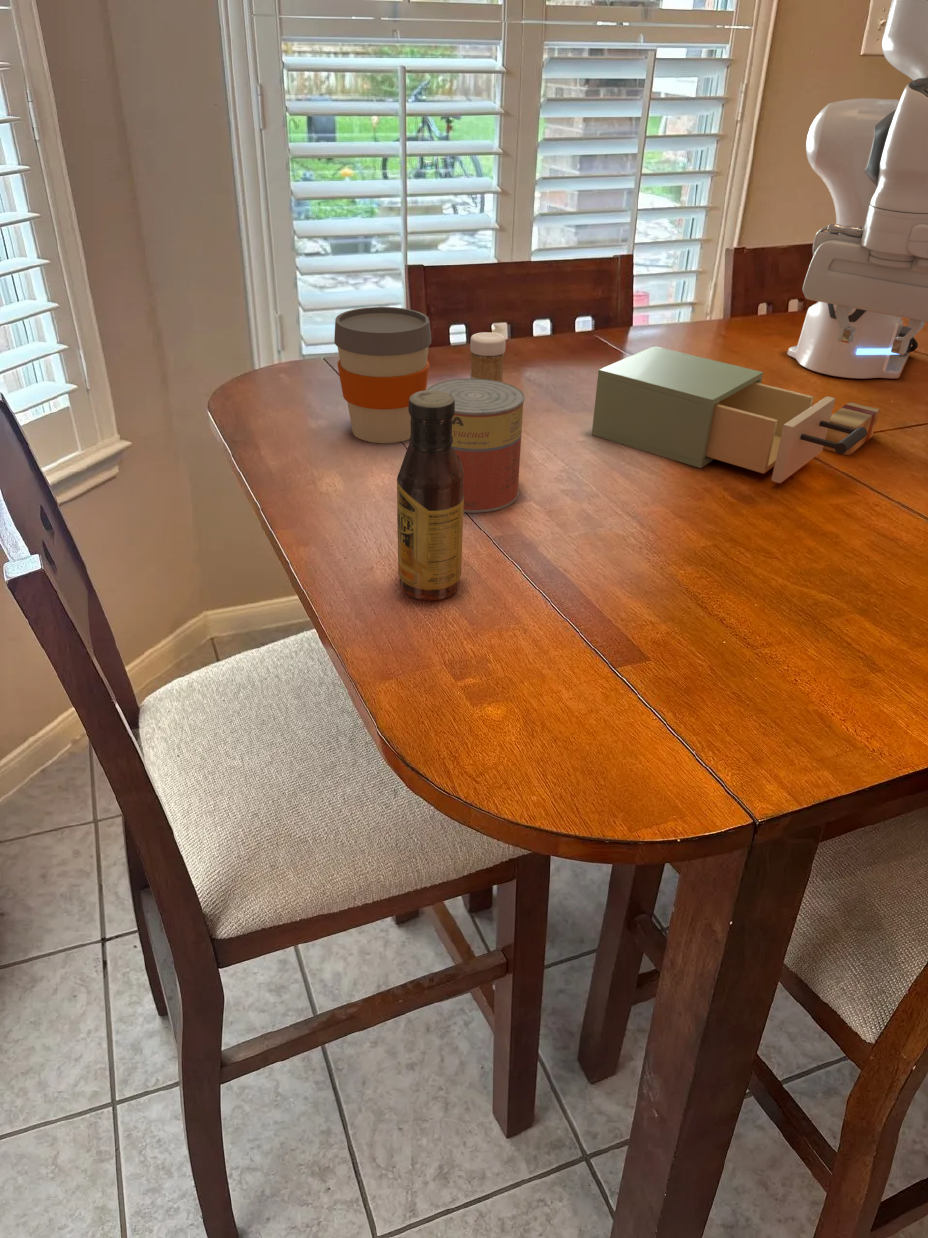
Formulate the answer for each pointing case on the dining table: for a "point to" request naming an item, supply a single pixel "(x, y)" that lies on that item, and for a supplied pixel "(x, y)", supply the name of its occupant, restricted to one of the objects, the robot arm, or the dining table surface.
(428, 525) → the sauce bottle
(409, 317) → the reusable coffee cup
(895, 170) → the robot arm
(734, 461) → the drawer
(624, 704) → the dining table surface
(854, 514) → the dining table surface
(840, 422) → the tan and red block
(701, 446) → the cabinet
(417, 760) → the dining table surface
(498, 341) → the sprinkles bottle
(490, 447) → the canned food
